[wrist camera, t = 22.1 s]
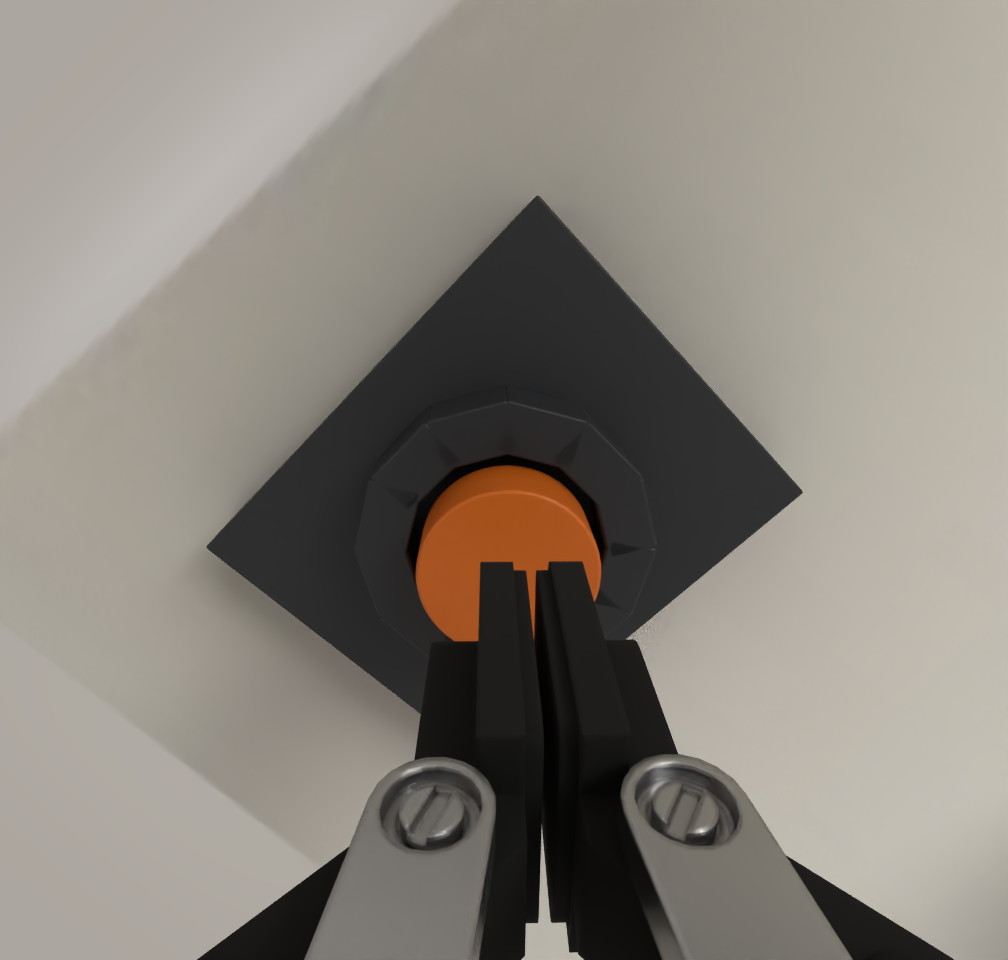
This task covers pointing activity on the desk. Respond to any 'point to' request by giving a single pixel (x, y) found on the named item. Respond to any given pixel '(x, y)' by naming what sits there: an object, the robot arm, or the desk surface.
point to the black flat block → (507, 454)
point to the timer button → (497, 540)
